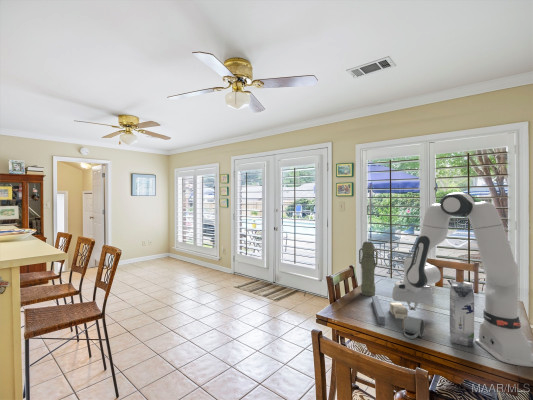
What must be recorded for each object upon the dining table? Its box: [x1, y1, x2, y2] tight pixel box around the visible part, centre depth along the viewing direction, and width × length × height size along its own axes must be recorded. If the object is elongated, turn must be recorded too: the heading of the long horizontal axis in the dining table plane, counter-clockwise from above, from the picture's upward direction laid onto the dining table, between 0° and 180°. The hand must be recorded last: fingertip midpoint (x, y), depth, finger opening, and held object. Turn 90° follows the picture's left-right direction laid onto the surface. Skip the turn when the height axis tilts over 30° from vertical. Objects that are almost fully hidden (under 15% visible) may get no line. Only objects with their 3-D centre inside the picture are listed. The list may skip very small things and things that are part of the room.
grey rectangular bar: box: [371, 295, 386, 326], centre depth 155 cm, size 30×3×4 cm, turn 165°
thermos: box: [358, 241, 379, 297], centre depth 184 cm, size 9×12×35 cm
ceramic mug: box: [401, 316, 425, 340], centre depth 131 cm, size 11×8×8 cm
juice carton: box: [449, 280, 475, 348], centre depth 124 cm, size 9×10×27 cm
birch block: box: [389, 301, 409, 320], centre depth 153 cm, size 10×6×5 cm, turn 174°
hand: (412, 309), depth 151 cm, fingers closed
